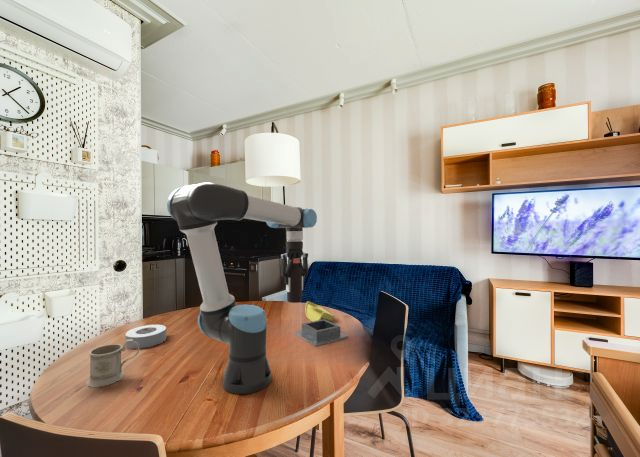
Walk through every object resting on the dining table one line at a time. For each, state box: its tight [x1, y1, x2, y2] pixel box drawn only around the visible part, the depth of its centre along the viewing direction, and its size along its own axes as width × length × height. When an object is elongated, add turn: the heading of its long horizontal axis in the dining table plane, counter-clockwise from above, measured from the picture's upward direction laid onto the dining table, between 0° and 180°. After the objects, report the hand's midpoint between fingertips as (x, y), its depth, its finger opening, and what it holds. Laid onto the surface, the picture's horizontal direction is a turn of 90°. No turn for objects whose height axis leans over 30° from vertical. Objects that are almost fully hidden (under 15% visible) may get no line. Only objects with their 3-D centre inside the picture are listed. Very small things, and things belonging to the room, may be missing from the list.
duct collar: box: [294, 318, 349, 347], centre depth 130 cm, size 18×18×5 cm
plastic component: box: [305, 301, 335, 322], centre depth 157 cm, size 20×7×10 cm
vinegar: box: [286, 258, 303, 304], centre depth 129 cm, size 7×7×20 cm
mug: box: [85, 339, 141, 388], centre depth 92 cm, size 14×10×12 cm
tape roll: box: [124, 324, 167, 349], centre depth 123 cm, size 15×15×5 cm
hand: (294, 290), depth 129 cm, fingers closed on vinegar, 6 cm apart
